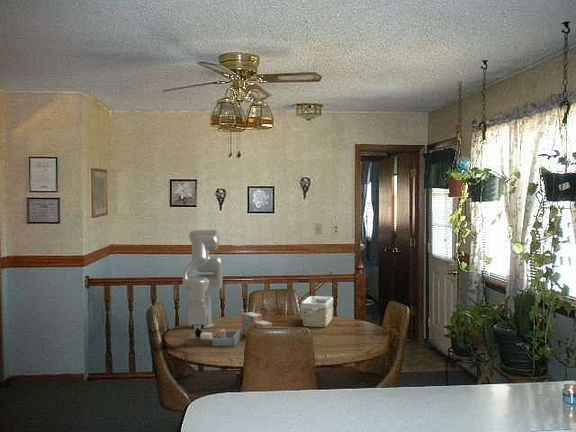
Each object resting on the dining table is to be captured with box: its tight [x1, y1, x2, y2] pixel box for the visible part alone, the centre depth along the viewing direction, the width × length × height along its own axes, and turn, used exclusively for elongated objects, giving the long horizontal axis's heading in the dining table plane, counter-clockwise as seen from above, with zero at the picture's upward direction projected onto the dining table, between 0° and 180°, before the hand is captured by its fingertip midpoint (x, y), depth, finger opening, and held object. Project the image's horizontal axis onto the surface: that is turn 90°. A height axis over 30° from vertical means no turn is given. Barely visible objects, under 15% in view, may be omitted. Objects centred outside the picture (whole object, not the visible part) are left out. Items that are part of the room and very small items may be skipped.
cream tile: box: [200, 332, 213, 339], centre depth 318 cm, size 5×5×2 cm
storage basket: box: [300, 295, 334, 328], centre depth 366 cm, size 24×16×15 cm
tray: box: [211, 328, 242, 348], centre depth 321 cm, size 18×12×5 cm, turn 173°
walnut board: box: [184, 332, 219, 347], centre depth 323 cm, size 16×14×3 cm
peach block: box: [218, 328, 227, 339], centre depth 325 cm, size 5×5×2 cm
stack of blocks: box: [241, 311, 273, 336], centre depth 332 cm, size 21×6×12 cm, turn 37°
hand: (198, 336), depth 318 cm, fingers closed
